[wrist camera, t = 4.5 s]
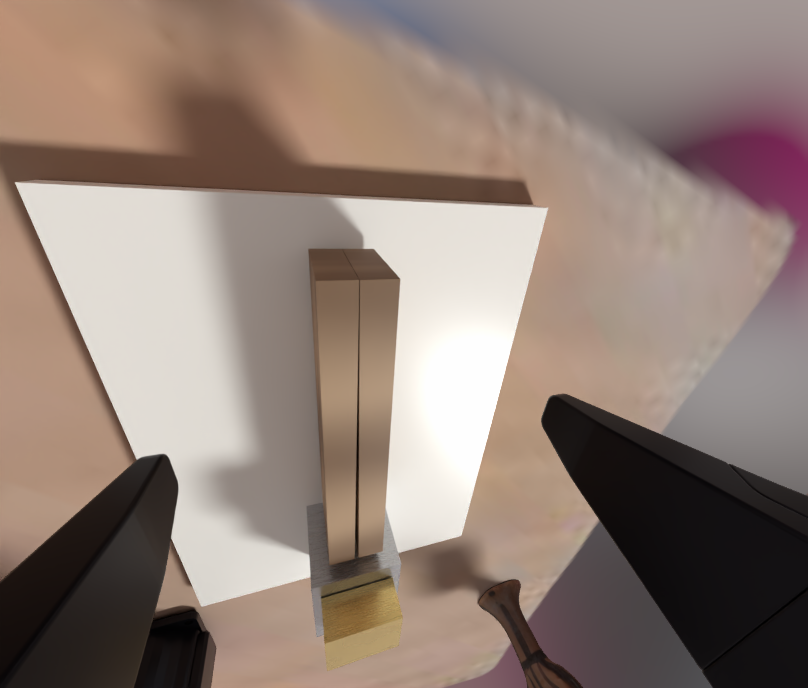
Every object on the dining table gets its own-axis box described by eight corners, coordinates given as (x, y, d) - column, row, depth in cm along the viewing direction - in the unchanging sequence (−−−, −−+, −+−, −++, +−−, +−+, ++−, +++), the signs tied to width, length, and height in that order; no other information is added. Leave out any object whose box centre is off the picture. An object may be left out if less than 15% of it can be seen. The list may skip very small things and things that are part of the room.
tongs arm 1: (367, 490, 20) (382, 551, 17) (347, 494, 19) (358, 557, 16) (373, 248, 13) (400, 278, 10) (341, 248, 12) (359, 280, 9)
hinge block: (377, 538, 23) (395, 611, 19) (311, 555, 22) (316, 637, 18) (380, 490, 21) (401, 563, 17) (306, 506, 19) (311, 589, 16)
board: (204, 589, 22) (201, 606, 21) (36, 179, 10) (14, 182, 9) (455, 524, 27) (461, 535, 26) (533, 204, 15) (547, 207, 15)
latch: (389, 606, 19) (398, 645, 17) (323, 627, 18) (327, 671, 16) (392, 577, 17) (402, 618, 16) (321, 598, 16) (324, 644, 15)
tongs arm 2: (343, 495, 19) (354, 558, 16) (322, 499, 19) (329, 565, 16) (341, 248, 12) (359, 280, 9) (308, 248, 12) (315, 280, 9)
